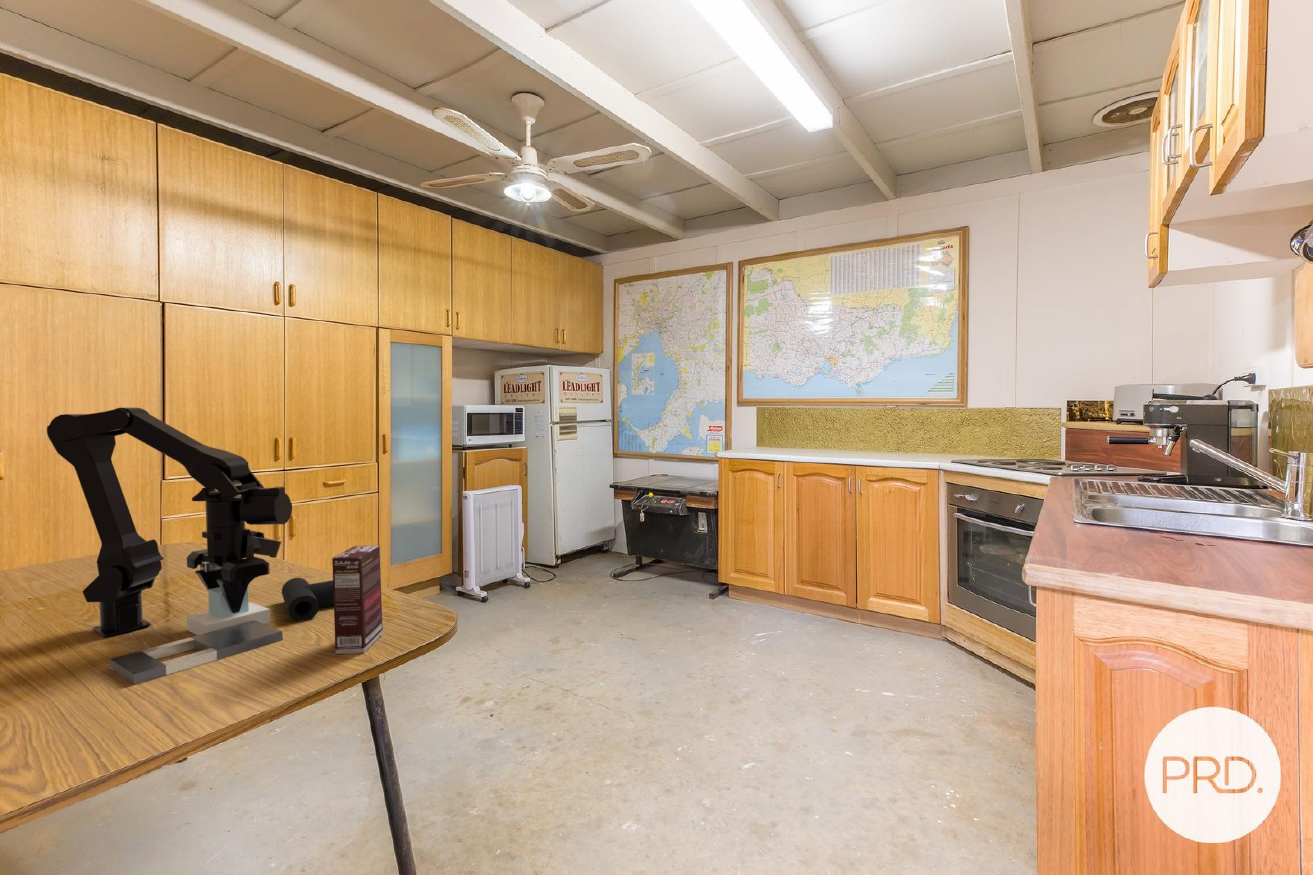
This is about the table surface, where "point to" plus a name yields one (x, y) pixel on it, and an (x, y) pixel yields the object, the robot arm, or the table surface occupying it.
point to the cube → (223, 604)
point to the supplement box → (357, 599)
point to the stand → (226, 619)
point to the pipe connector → (306, 598)
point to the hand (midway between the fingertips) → (228, 610)
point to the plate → (210, 649)
